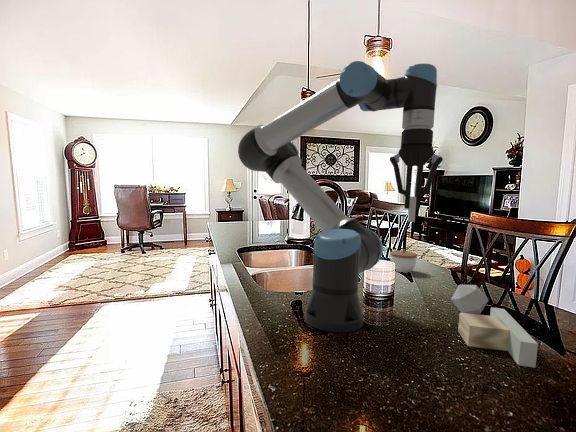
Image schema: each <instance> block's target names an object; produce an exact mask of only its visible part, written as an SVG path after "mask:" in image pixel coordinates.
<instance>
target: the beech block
mask: <svg viewBox="0 0 576 432" xmlns="http://www.w3.org/2000/svg"><path fill="white" fill-rule="evenodd" d="M509 331H510V330H509V329H508V328H507V327H506V326H505V325H504V324H503V323H502V322H501V321H500V320H499V319H498V318H497V317H496V316H490V315H485V314H468V313H461V312H459V317H458V329H457V332H458V333H459V335H460V337H461V338H462V339H463V341H464V342H465V344H466V345H467V347H471V348H473V347H474V348H481V349H486V350H487V349H488V350H496V351H497V350H498V351H503V352H505V351H506V352H508V341H509Z"/></svg>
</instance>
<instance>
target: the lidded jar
mask: <svg viewBox="0 0 576 432" xmlns="http://www.w3.org/2000/svg"><path fill="white" fill-rule="evenodd" d="M389 253H390V254H389V255H390V257H389V258H390V259H389V260H390V262H391V261H392V262H394V263H395V269H396V271H395V272H397V273H401V272H403V273H402V274H408V272H409V273H411V271H413V270H414V269H415V267H416V264H417V257H418V254H417V253H415V252H412V251H407V250H406V249H405V248H402V250H391V251H390V252H389ZM395 269H394V270H395Z"/></svg>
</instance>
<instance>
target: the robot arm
mask: <svg viewBox="0 0 576 432" xmlns="http://www.w3.org/2000/svg"><path fill="white" fill-rule="evenodd" d="M437 73H438V71H437V67H436V66H435V65H433V64H431V63H416V64H412V65H410V66H408V67H407V68H406V70H405V73H404V76H400V77H398V78H389V79H386V78H385V77H384V76H383V75H381V74H380V73H379V72H377V70H376V69H375V68H374V67H373V66H372V65H370V64H367V63H366V62H364V61H361V60H354V61H351V62H349V63H348V64H346V65H345V67H343V69H342V71H341V72H340V75H339V79H337V80H335V81H333V82H332V83H331V84H329V85H327V86H326V87H324V88H322V89H321V90H320V91H318V92H315V94H313V95H311V96H310V97H308V98H306V99H304V100H303V101H301V102H300V103H299V104H297V105H295V106H293V107H292V108H291V109H289V110H287V111H286V112H284V113H283V114H281V115H279V116H278V117H276V118H274V119H273V120H272V121H271V120H270V121H269V122H268V123H267V124H265V125H264V124H258V125H256V126H255V127H253V128H252V129H250V130H249V131H248V132H246V133H245V134H244V135H243V137H241V139H240V142H239V143H238V148H237V149H238V150H237V153H238V157H239V160H240V162H241V164H242V165H243V166H244V167H246V168H247V169H248V170H251V171H254V172H263V173H264V172H265V173H266V174H267V175H268V176H269V177H270V179H271V180H272V181H273V182H274V183H275V184H281V185H282V186H283V187H284V188H285V189H286V191H287V192H288V193H289V194H290V195H291V197H292V198H293V199H294V200H295V201H296V203H298V205H299V206H300V207H301V208H302V209H303V210H304V212H305V213H306V214H307V215H308V217H310V219H311V220H312V221H313V222H314V224H316V226H317V227H318V228H319V230H320V232H318V233H317V234H316V235H315V237H314V245H313V247H312V248H313V262H312V264H313V265H312V266H313V267H312V268H313V269H312V290H311V293H310V295H309V299H308V300H307V301H308V302H307V303H306V306H305V309H304V321H305V322H306V324H307V325H308V326H310V327H312V328H315V329H317V330H320V331H324V332H327V333H328V332H329V333H350V332H355V331H357V330H359V329H361V328H362V327H363V325H364V312H363V308H362V305H361V301H360V297H359V293H358V292H359V275H360V274H361V273H363V272H365V271H368V270H371V269H373V267H375V266H376V265H377V264H378V263H379V262H380V261H381V258H382V256H383V252H384V248H383V247H384V246H383V242H382V240H381V237H380V236H379V235H378V234H377V233H376V232H374V231H373V230H371V229H369V228H365V227H364V225H362V223H360V221H359V220H358V219H356V217H355V218H353V217H348V216H347V215H346V213H344V212H343V210H342V209H341V208H340V207H339V206H338V204H336V202H335V201H333V200H332V198H331V197H330V196H329V195H328V194H327V193H326V191H325V190H324V189H323V188H322V187H321V186H320V185H319V184H318V183H317V182H316V181H315V179H314V178H312V176H311V175H310V174H309V173H308V171H307V170H305V168H304V167H303V166H302V161H303V160H302V158H301V157H300V156H299V154H300V153H299V151H298V148H297V146H296V145H295V144H294V143H293V141H294V140H297V139H298V138H300V137H302V136H303V135H305V134H307V133H308V132H311V131H313V130H314V129H316V128H317V127H319V126H321V125H323V124H324V123H326V122H328V121H330V120H332V119H333V118H335V117H337V116H339V115H341V114H343V113H344V112H346V111H347V110H350V109H351V108H354V107H356V106H357V105H358V106H359V109H360V110H361V111H362V112H377V111H378V112H379V111H386V110H394V109H401V108H402V124H401V128H402V129H403V130H402V131H401V137H400V140H401V141H400V148H399V150H398V153H397V154H395V155H393V156H390V158H389V161H390V163H391V164H392V166H393V172H394V177H395V182H396V186H397V192H398V193H399V194H400V195H403V196H404V206H403V207H404V209H406V210H408V213H407V214H408V215H407V222H409V223H415V221H416V210H420V209H421V201H422V197H423V196H425V195H426V196H427V195H429V194H430V191H431V187H432V184H433V181H434V179H435V176H436V173H437V169H438V167H439V165H440V164H441V163H442V162H443V160H444V158H443V157H442V156H438V154H435V150H434V149H433V138H434V131H433V128H434V123H435V107H436V99H437V98H436V96H437V87H438V83H437V81H438V80H437V78H438V77H437V76H438V75H437ZM400 159H401V161H402V162H403V163H404V165H405V166H406V176H405V177H406V178H405V189H404V187H403V182H402V175H401V171H400V165H399V163H400ZM430 159H431V167H430V170H429V173H428V176H427V179H426V182H425V185H424V188H423V178H424V177H423V175H424V174H423V173H424V166H425V165H426V164H427V163H428V162H429V160H430ZM413 167H416V182H415V183H416V184H415V196H411V194H412V193H411V192H412V180H413V179H412V178H413V177H412V176H413Z"/></svg>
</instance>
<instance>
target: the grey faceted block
mask: <svg viewBox="0 0 576 432" xmlns="http://www.w3.org/2000/svg"><path fill="white" fill-rule="evenodd" d="M489 299H490V298H488V297H487V296H486V294H485V293H484V292H483V291H482V289H480V288H479V286H478V285H477V284H458V286H457V287H456V289H455V291H454V292H453V295H452V297H451V298H450V300H451V302H452V303H453V304H454V305H455V307H456V308H457V309H458V311H459V313H468V314H478V315H481V313H482V312H483V310H484V308H485V307H486V305H487V303H488V301H489Z"/></svg>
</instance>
